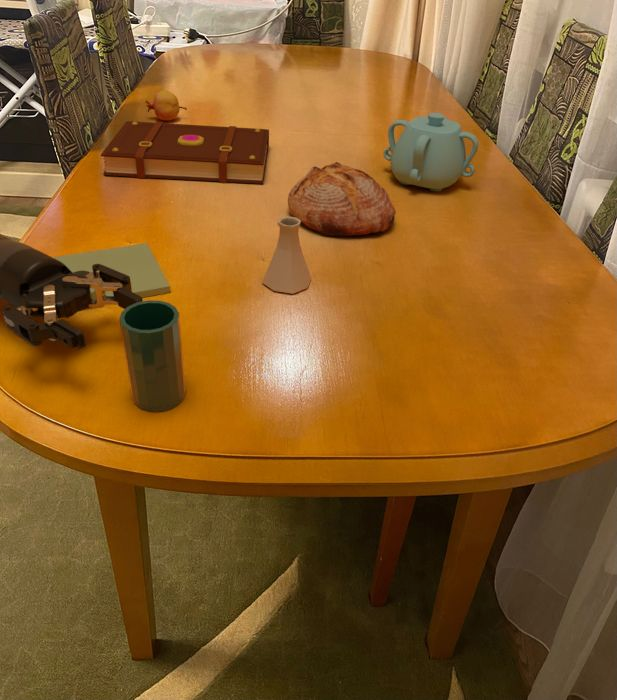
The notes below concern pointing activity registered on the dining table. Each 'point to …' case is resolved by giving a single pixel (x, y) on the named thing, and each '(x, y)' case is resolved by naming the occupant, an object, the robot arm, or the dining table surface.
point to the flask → (288, 260)
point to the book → (188, 152)
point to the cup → (153, 354)
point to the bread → (341, 202)
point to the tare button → (82, 272)
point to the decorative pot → (430, 152)
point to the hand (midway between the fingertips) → (112, 324)
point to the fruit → (165, 105)
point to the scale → (123, 267)
